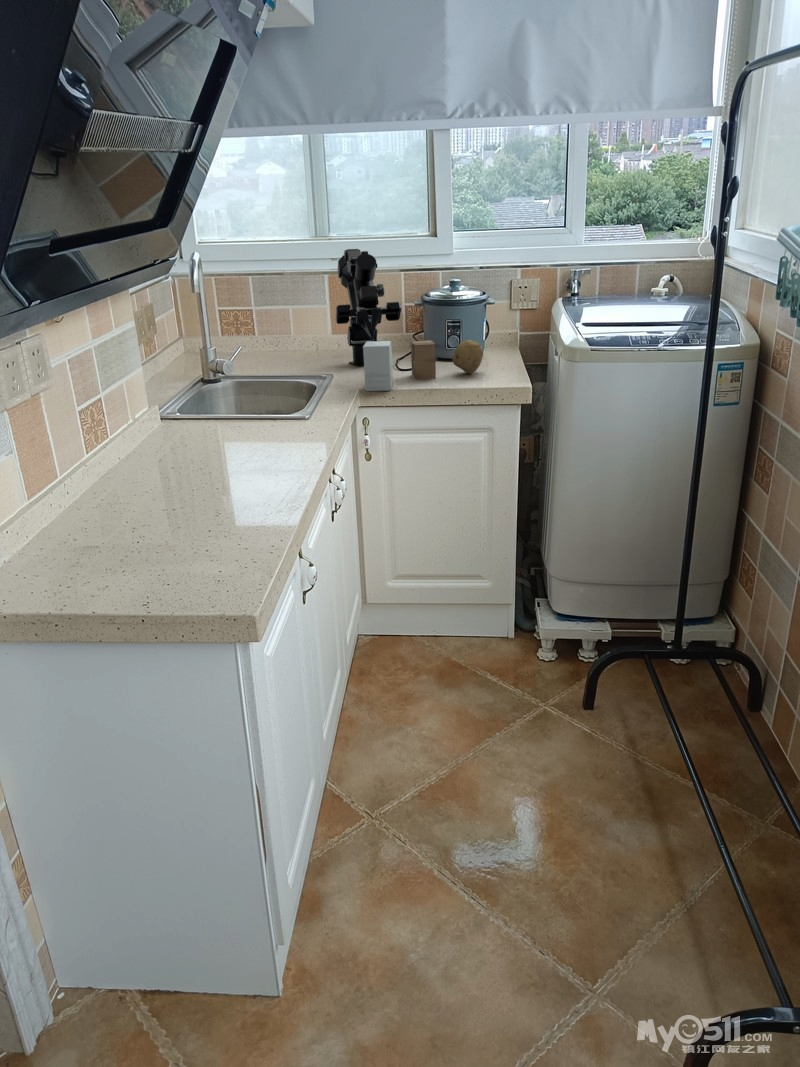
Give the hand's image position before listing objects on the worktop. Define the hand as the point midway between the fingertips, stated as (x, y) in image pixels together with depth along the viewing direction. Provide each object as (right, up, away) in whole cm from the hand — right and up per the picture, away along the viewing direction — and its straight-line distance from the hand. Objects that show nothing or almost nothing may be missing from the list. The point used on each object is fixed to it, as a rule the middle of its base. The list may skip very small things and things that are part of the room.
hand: (372, 337), depth 240 cm
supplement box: (+2, -16, -3) cm, 16 cm away
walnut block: (+15, -10, +8) cm, 20 cm away
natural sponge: (+28, -9, +10) cm, 31 cm away
